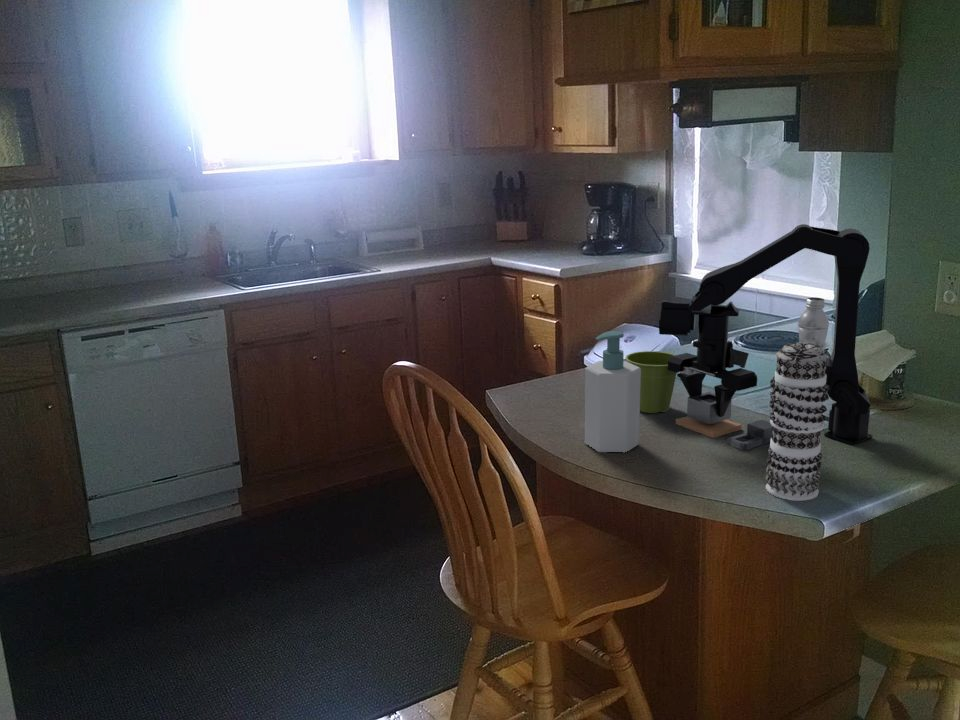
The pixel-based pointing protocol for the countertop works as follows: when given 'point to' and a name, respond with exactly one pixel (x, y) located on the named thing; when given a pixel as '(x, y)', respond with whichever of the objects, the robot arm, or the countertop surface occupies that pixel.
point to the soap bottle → (612, 399)
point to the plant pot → (654, 380)
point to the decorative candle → (797, 421)
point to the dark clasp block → (752, 436)
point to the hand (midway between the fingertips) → (709, 412)
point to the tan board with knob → (709, 425)
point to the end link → (706, 409)
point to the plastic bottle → (813, 323)
